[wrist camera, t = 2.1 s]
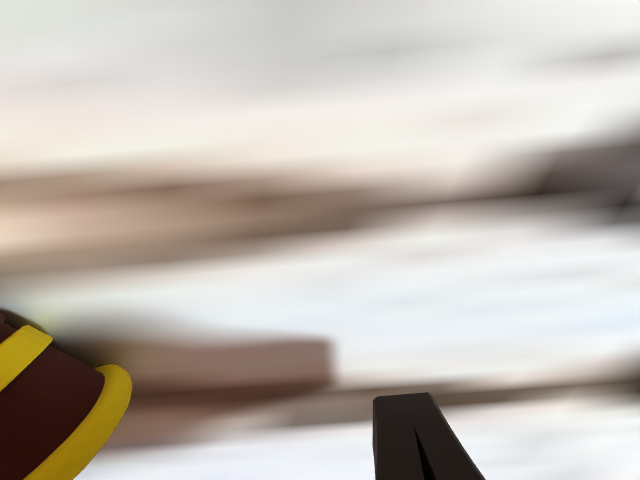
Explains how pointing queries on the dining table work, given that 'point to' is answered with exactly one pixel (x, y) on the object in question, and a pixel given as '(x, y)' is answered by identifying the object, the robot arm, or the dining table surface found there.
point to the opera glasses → (53, 407)
